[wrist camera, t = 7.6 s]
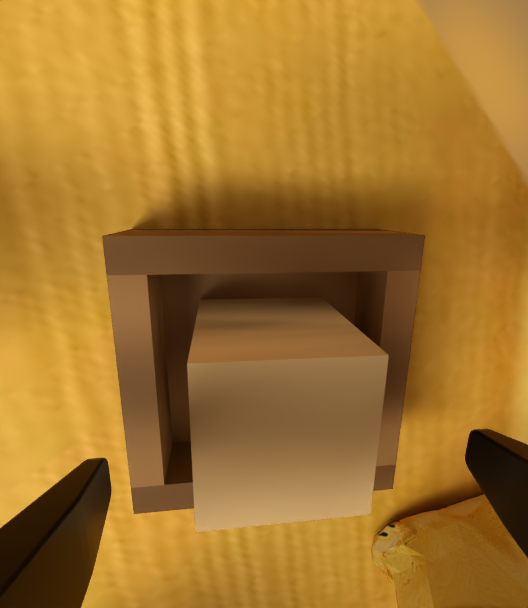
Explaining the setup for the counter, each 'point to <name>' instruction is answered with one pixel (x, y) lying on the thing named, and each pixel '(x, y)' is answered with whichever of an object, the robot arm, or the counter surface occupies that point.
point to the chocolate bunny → (453, 559)
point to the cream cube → (282, 413)
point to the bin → (242, 285)
